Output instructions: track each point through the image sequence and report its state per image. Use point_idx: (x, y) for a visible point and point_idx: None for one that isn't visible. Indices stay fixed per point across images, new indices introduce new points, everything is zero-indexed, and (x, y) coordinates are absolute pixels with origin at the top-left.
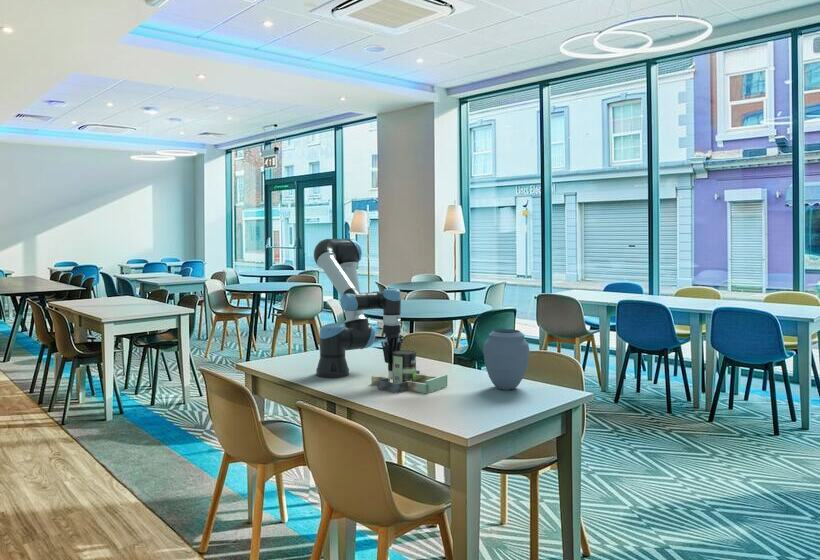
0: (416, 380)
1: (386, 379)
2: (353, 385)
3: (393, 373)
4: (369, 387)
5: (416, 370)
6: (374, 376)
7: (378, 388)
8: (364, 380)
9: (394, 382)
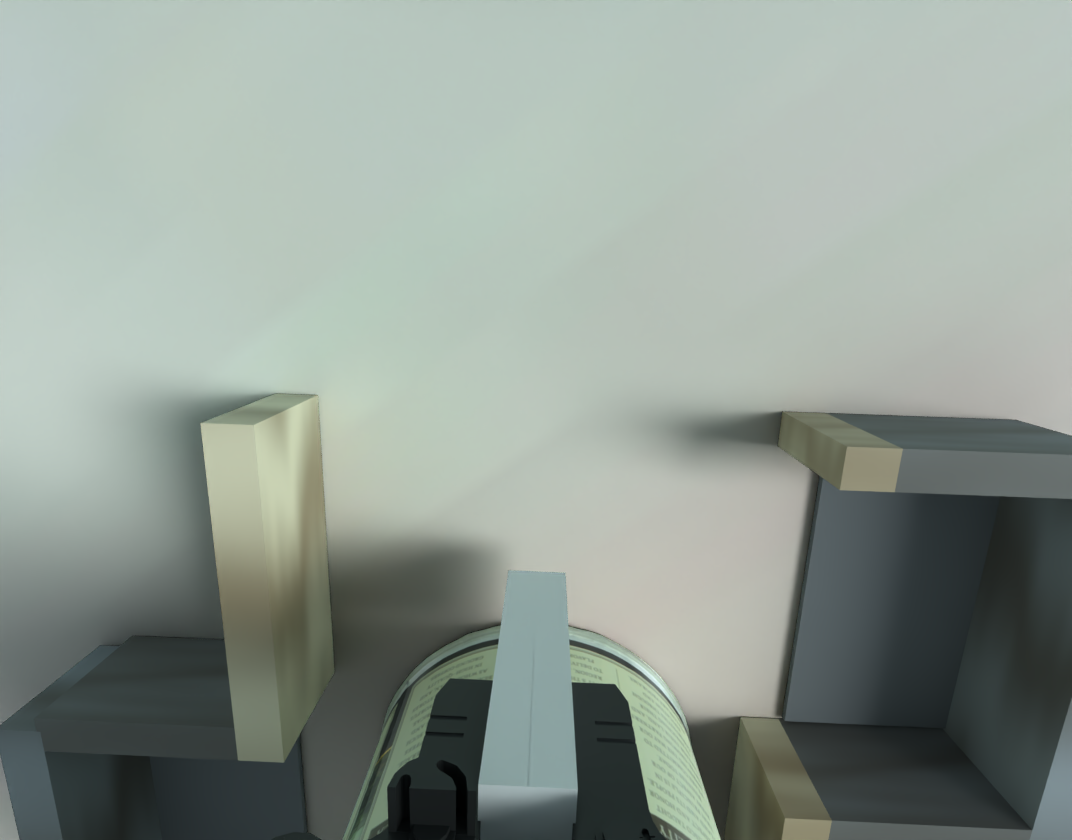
0: (735, 838)
1: (187, 755)
2: (24, 203)
3: (353, 830)
4: (105, 487)
5: (1067, 807)
6: (214, 485)
7: (89, 656)
8: (416, 122)
9: (382, 735)
